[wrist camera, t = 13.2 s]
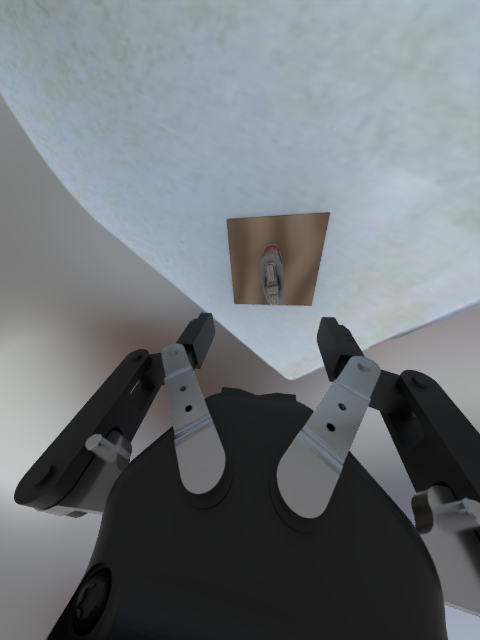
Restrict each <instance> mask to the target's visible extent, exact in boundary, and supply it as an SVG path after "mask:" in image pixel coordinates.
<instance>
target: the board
mask: <svg viewBox="0 0 480 640" xmlns="http://www.w3.org/2000/svg"><path fill="white" fill-rule="evenodd" d="M329 215H330V213H329V212H327V213H312V214H297V215H282V216H266V217H251V218H236V219H227V229H228V239H229V250H230V261H231V271H232V282H233V292H234V303H235V304H262V305H271V304H269V303H268V302H267V300H266V297H265V295H264V292H263V288H262V283H261V260H262V257H263V251H264V248H265V246H266V245H267V244H270V243H274V244H276V245H278V247H279V251H280V254H281V259H282V265H283V273H284V287H285V290H284V298H283V301H282V302H281V303H280V304H278V305H304V306H312V301H313V296H314V290H315V285H316V280H317V275H318V270H319V265H320V260H321V255H322V250H323V245H324V240H325V235H326V230H327V225H328V220H329Z"/></svg>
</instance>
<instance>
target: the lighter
mask: <svg viewBox="0 0 480 640" xmlns="http://www.w3.org/2000/svg"><path fill="white" fill-rule="evenodd" d="M261 283H262V288H263V292H264V295H265V297H266V300H267V302H268V303H269V304H271V305H278V304H280V303H281V302H282V301H283V298H284V290H285V287H284V273H283V265H282V259H281V254H280V251H279V247H278V245H276V244H274V243H270V244H267V245H266V246H265V248H264V251H263V257H262V260H261Z"/></svg>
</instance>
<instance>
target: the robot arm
mask: <svg viewBox="0 0 480 640" xmlns="http://www.w3.org/2000/svg"><path fill="white" fill-rule="evenodd" d="M214 335H215V327H214V321H213V316H212V313H201V314H200V316H199V317H198V319H194V320H193V321H191V322H190V323H189V324H188V326H187V328H186V329H185V330H184V332H183V333H182V335H181V336H180V338H179V339H178V341H177V342H176V344H172V345H169V346H167V347H166V348H165V349H164V350H163V351H162V352H161V353H157V354H151V355H150V354H149V352H148V351H147V350H145V349H139V350H136V351H134V352H131V353H130V354H129V355H127V356H126V358H125V359H124V360H123V361H122V362H121V364H120V365H119V366H118V367H117V368H116V369H115V371H114V372H113V373H112V374H111V375H110V376H109V377H108V378H107V380H106V381H105V382H104V383H103V384H102V386H101V387H100V388H99V389H98V390H97V391H96V393H95V394H94V395H93V396H92V397H91V398H90V399H89V401H88V402H87V403H86V404H85V405H84V407H83V408H82V409H81V410H80V411H79V412H78V413H77V415H76V416H75V417H74V418H73V419H72V420H71V422H70V423H69V424H68V425H67V426H66V427H65V429H64V430H63V431H62V432H61V433H60V434H59V436H58V437H57V438H56V439H55V440H54V441H53V443H52V444H51V445H50V446H49V447H48V448H47V450H46V451H45V452H44V453H43V454H42V456H41V457H40V458H39V459H38V460H37V461H36V463H34V465H33V466H32V467H31V468H30V469H29V471H28V472H27V473H26V474H25V475H24V477H23V478H22V479H21V481H20V482H19V484H18V486H17V488H16V490H15V494H14V500H15V502H16V503H17V504H20V505H24V506H28V507H33V508H35V509H36V510H38V511H41V512H46V513H50V514H54V515H59V516H63V515H66V516H70V517H75V518H77V517H81V516H83V515H85V514H87V513H95V514H102V521H101V526H100V530H99V534H98V538H97V541H96V545H95V548H94V551H93V554H92V557H91V559H90V562H89V565H88V568H87V570H86V572H85V574H84V577H83V578H82V580H81V582H80V584H79V586H78V588H77V590H76V591H75V593H74V595H73V596H72V598H71V600H70V601H69V603H68V605H67V606H66V608H65V610H64V611H63V613H62V614H61V616H60V617H59V619H58V621H57V622H56V624H55V625H54V627H53V628H52V630H51V631H50V633H49V635H48V636H47V638H46V639H45V640H448V637H447V631H446V622H445V608H444V605H447V606H450V607H453V608H456V609H459V610H462V611H464V612H467V613H470V614H473V615H476V616H479V617H480V434H479V433H478V431H477V430H476V429H475V428H474V427H473V425H472V424H471V423H470V422H469V421H468V419H467V418H466V417H465V416H464V414H463V413H462V412H461V411H460V410H459V408H458V407H457V406H456V405H455V404H454V403H453V401H452V400H451V399H450V398H449V396H448V395H447V394H446V393H445V392H444V390H442V388H441V387H440V386H439V384H438V383H437V382H436V381H435V380H433V379H432V378H431V377H429V376H427V375H425V374H423V373H420V372H418V371H414V370H405V371H403V372H402V373H401V374H400V375H397V374H394V373H390V372H387V371H384V370H381V369H380V367H379V366H378V364H377V363H375V362H374V361H373V360H371V359H369V358H366V357H365V356H364V355H363V353H362V351H361V349H360V348H359V346H358V344H357V343H356V341H355V339H354V338H353V337H352V334H351V333H350V331H349V330H348V329H347V328H346V327H345V326H343V325H339V324H338V322H337V320H336V319H335V318H334V317H322V319H321V322H320V326H319V330H318V333H317V343H318V346H319V350H320V353H321V356H322V359H323V362H324V365H325V368H326V372H327V374H328V378H329V381H330V382H333V383H332V385H331V386H330V388H329V389H328V391H327V392H326V394H325V395H324V397H323V398H322V400H321V401H320V403H319V404H318V406H317V407H316V409H315V410H314V411H313V410H311V409H310V408H309V407H307V406H306V405H304V404H302V403H300V402H298V401H296V395H292V394H282V393H272V394H265V395H255V394H252V393H249V392H246V391H244V390H241V389H236V388H226V387H223V388H222V391H221V393H217V394H214V395H211V396H209V397H207V398H205V399H204V398H203V395H202V392H201V390H200V387H199V384H198V382H197V379H196V377H195V374H194V369H200V368H201V366H202V363H203V361H204V359H205V357H206V354H207V352H208V350H209V347H210V345H211V343H212V340H213V338H214ZM137 382H138V384H137V385H136V383H137ZM135 385H136V387H135V388H134V390H133V391H132V389H133V387H134V386H135ZM161 385H165V387H166V392H167V397H168V402H169V407H170V413H171V418H172V423H173V426H172V427H171V428H170V429H168V430H167V431H166V432H165V433H164V434H163V435H161V436H160V437H159V438H158V439H157V440H156V441H154V442H153V443H152V444H151V445H150V446H149V447H147V448H146V449H145V450H144V451H143V452H141V453H140V454H139V455H138V456H137V457H136V458H135V459H133V460H132V461H131V462H130V456H131V453H132V445H131V441H132V439H133V437H134V435H135V434H136V432H137V430H138V428H139V426H140V424H141V423H142V421H143V419H144V417H145V415H146V413H147V411H148V409H149V408H150V406H151V404H152V402H153V400H154V398H155V396H156V394H157V393H158V391H159V389H160V387H161ZM131 391H132V393H131ZM130 393H131V394H130ZM368 406H369V407H372V408H374V409H377V410H380V413H381V415H382V417H383V419H384V422H385V424H386V426H387V428H388V431H389V433H390V435H391V437H392V440H393V442H394V444H395V446H396V448H397V451H398V453H399V455H400V457H401V460H402V462H403V464H404V466H405V469H406V471H407V473H408V475H409V478H410V480H411V482H412V484H413V487H414V489H415V491H416V494H415V495H413V497H412V500H411V505H412V511H413V514H414V519H415V527H414V525H413V524H412V522H411V521H410V520H409V519H408V518H407V516H406V515H405V514H404V512H403V511H402V510H401V509H400V508H399V507H398V506H397V504H396V503H395V502H394V501H393V500H392V499H391V498H390V496H388V495H387V493H386V492H385V491H384V490H383V489H382V487H381V486H380V485H379V484H378V483H377V482H376V481H375V479H374V478H373V477H372V476H371V475H370V474H369V473H368V472H367V470H366V469H365V468H364V467H363V466H362V465H361V464H360V462H359V461H358V460H357V459H356V458H355V457H354V456H353V454H352V453H351V452H350V451H349V449H350V447H351V445H352V442H353V440H354V438H355V435H356V433H357V431H358V428H359V426H360V424H361V422H362V419H363V417H364V414H365V412H366V410H367V408H368Z"/></svg>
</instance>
